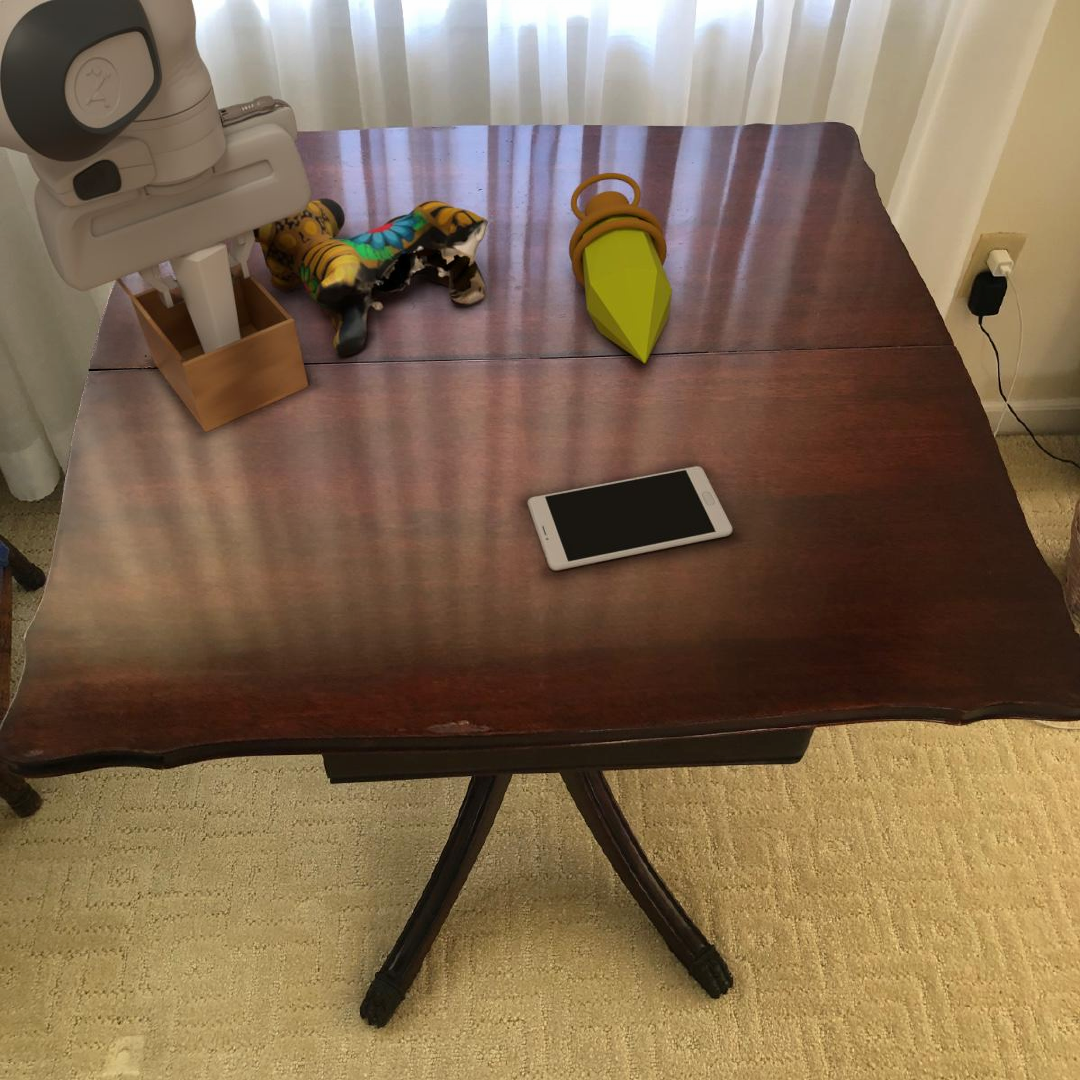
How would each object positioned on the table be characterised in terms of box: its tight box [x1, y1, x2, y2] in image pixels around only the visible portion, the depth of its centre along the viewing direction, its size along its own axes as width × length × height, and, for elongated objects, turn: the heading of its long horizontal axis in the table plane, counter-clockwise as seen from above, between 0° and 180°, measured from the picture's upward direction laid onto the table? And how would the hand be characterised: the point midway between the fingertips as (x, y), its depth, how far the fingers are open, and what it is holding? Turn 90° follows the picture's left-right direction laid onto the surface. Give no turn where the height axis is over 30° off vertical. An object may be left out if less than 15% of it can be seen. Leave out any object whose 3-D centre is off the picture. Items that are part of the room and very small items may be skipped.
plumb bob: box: [568, 172, 673, 364], centre depth 93 cm, size 9×9×25 cm
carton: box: [130, 270, 309, 433], centre depth 86 cm, size 10×11×7 cm
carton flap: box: [116, 278, 182, 360], centre depth 78 cm, size 5×11×1 cm
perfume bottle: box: [168, 240, 241, 354], centre depth 82 cm, size 5×4×15 cm
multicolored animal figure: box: [253, 197, 488, 357], centre depth 93 cm, size 20×12×18 cm
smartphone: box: [527, 465, 733, 571], centre depth 78 cm, size 8×1×15 cm
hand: (205, 289), depth 81 cm, fingers closed on perfume bottle, 4 cm apart
